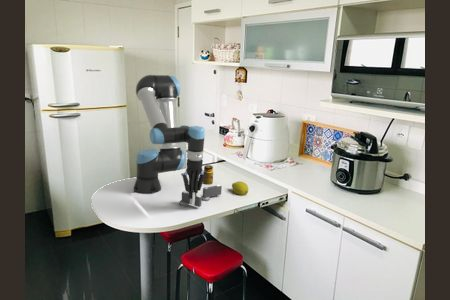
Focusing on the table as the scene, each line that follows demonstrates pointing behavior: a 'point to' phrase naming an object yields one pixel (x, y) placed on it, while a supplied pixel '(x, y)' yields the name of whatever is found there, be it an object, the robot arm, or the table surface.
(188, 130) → the robot arm
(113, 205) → the table surface
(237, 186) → the lemon
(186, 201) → the grey lever handle
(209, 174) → the condiment
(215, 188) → the grey lever handle
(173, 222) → the table surface
